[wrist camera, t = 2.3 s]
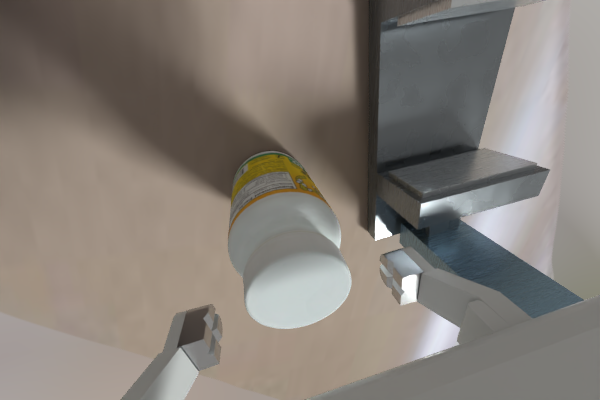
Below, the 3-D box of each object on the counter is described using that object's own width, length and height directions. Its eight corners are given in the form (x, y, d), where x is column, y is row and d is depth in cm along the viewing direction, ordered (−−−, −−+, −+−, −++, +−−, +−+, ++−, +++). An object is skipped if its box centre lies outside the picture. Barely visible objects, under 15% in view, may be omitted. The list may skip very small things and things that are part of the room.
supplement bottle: (221, 161, 17) (192, 267, 8) (298, 139, 18) (365, 212, 8) (248, 225, 20) (252, 356, 11) (312, 205, 21) (372, 312, 11)
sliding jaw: (377, 168, 19) (552, 285, 8) (479, 144, 20) (750, 218, 9) (375, 245, 23) (487, 387, 13) (459, 222, 24) (626, 332, 14)
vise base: (369, -14, 14) (462, -82, 8) (503, -32, 15) (672, -103, 9) (368, 231, 24) (409, 281, 18) (449, 209, 25) (513, 249, 19)
